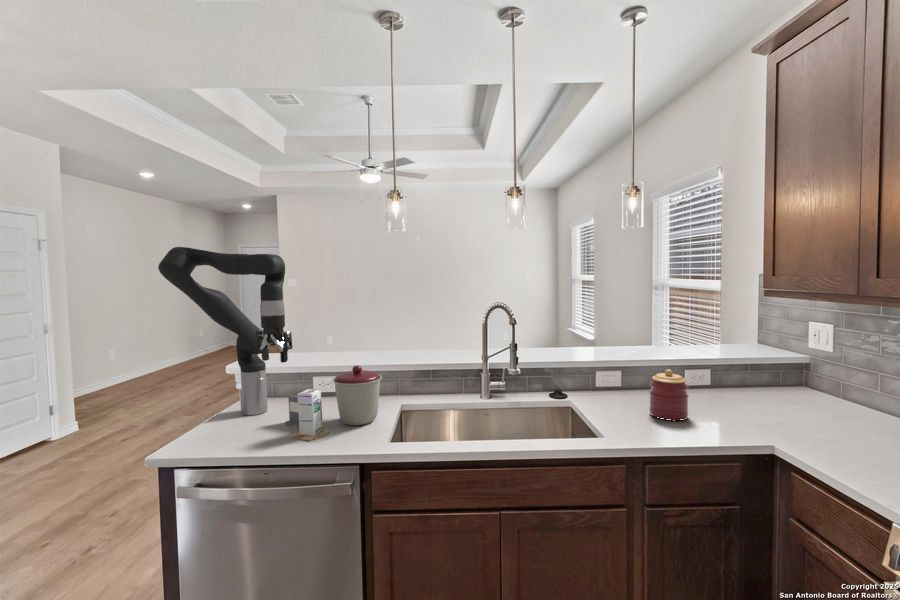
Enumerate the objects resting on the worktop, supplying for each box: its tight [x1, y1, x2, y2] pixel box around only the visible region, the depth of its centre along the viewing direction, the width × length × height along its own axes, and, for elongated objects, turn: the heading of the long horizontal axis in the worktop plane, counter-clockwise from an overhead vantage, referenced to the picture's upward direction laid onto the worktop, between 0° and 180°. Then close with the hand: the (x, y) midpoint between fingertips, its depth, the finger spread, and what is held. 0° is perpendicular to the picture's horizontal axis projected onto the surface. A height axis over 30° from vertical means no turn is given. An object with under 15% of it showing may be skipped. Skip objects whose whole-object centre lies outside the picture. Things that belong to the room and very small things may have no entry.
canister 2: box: [648, 368, 690, 420], centre depth 161 cm, size 13×13×18 cm
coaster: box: [289, 429, 330, 442], centre depth 149 cm, size 9×9×1 cm
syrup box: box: [297, 388, 324, 436], centre depth 150 cm, size 6×6×14 cm
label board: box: [284, 394, 299, 427], centre depth 159 cm, size 13×3×10 cm, turn 64°
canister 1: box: [332, 365, 383, 426], centre depth 162 cm, size 18×18×21 cm
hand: (274, 361), depth 147 cm, fingers open, 8 cm apart
